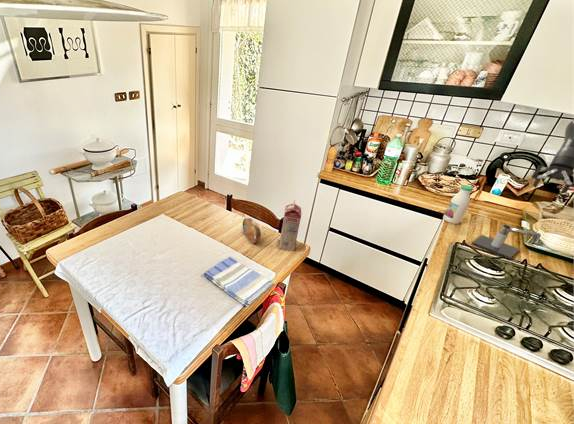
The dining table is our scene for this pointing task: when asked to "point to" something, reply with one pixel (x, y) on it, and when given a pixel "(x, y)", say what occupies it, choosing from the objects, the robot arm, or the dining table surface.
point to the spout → (506, 229)
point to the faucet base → (498, 251)
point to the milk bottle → (458, 205)
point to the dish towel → (239, 281)
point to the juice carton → (290, 227)
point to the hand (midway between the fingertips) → (548, 189)
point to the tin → (251, 230)
